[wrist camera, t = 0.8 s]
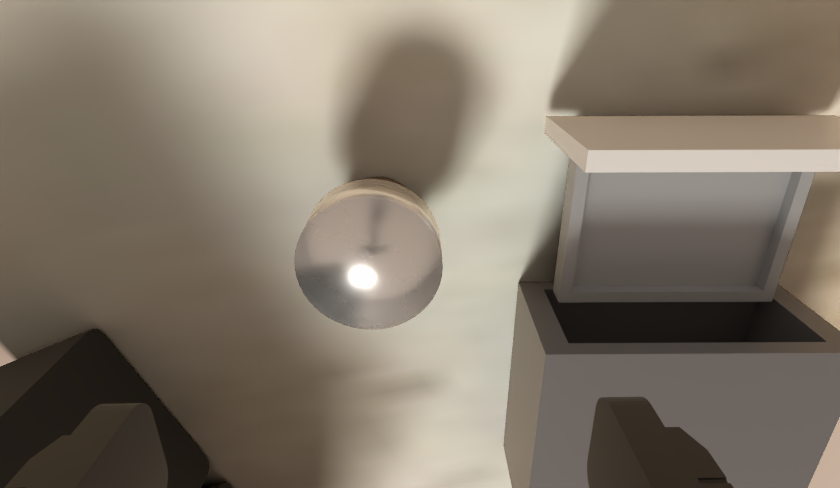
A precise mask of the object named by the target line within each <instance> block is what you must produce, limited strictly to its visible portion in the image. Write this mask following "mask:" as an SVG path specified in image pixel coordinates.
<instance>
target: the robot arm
mask: <svg viewBox="0 0 840 488" xmlns="http://www.w3.org/2000/svg"><path fill="white" fill-rule="evenodd" d="M587 476H588V484H589V488H733V486H732V485H731V483H728V482H727V479H726V478H727V477H726V476H725V475H724V473H723V472H722V470H721V469H720V467H719V466H718V464H717V463H716V462H715V460H714V459H713V457H712V456H711V454H710V453H709V451H708V450H707V449H706V448H705V447H703V446H702V445H701V444H700V443H698V442H697V441H696V440H695V439H694V438H692V437H691V436H690V435H689V434H687V433H686V432H685V431H684V430H683V429H681V428H680V427H665V426H664V424H663V423H662V421H661V420H660V418H659V416H658V415H657V413H656V412H655V410H654V409H653V407H652V405H651V404H650V402H649V401H648V400H647V399H646V398H644V397H601V398H599V399H598V401H597V404H596V409H595V415H594V421H593V428H592V434H591V440H590V447H589V453H588V460H587ZM167 483H168V467H167V463H166V459H165V456H164V452H163V449H162V445H161V441H160V438H159V434H158V431H157V427H156V423H155V420H154V416H153V413H152V410H151V408H150V407H149V406H148V405H147V404H145V403H126V404H100V405H97V406H96V407H94V408H93V409H92V410H91V411H90V412H89V414H88V415H87V416H86V417H85V418H84V419H83V421H82V422H81V423H80V424H79V425H78V427H77V428H76V429H75V430H74V431H73V433H72V434H71V435H63V436H61V437H60V438H58V439H57V440H56V441H54V442H53V443H51V444H50V445H49V446H47V447H46V448H44V449H43V450H42V451H40V452H39V453H38V454H36V455H35V456H33V457H32V458H31V459H29V460H28V462H27V463H26V464H25V465H24V466H23V467H22V468H21V469H20V471H19V472H18V473H17V474H16V475H15V476H14V477H13V478H12V480H11V481H10V482H9V483H8V484H7V485H6V486H5V487H4V488H167Z"/></svg>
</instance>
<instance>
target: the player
mask: <svg viewBox="0 0 840 488" xmlns="http://www.w3.org/2000/svg"><path fill="white" fill-rule="evenodd" d="M553 286H554V282H519V283H518V294H517V305H516V316H515V326H514V337H513V348H512V359H511V370H510V381H509V392H508V403H507V414H506V425H505V436H504V450H505V454H506V459H507V464H508V469H509V474H510V479H511V484H512V488H589V484H588V476H587V460H588V453H589V447H590V440H591V434H592V428H593V421H594V415H595V409H596V404H597V401H598V399H599V398H601V397H644V398H646V399H647V400H648V401H649V402H650V404H651V405H652V407H653V409H654V410H655V412H656V413H657V415H658V416H659V418H660V420H661V421H662V423H663V424H664V426H665V427H680V428H681V429H683V430H684V431H685V432H686V433H687V434H689V435H690V436H691V437H692V438H694V439H695V440H696V441H697V442H698V443H700V444H701V445H702V446H703V447H705V448H706V449H707V450H708V451H709V453H710V454H711V456H712V457H713V459H714V460H715V462H716V463H717V464H718V466H719V467H720V469H721V470H722V472H723V473H724V475H725V476H726V477H727V478H726V479H727V482H728V483H731V485H732V486H733V488H808V486H809V483H810V481H811V479H812V477H813V475H814V472H815V470H816V468H817V465H818V463H819V461H820V459H821V456H822V455H823V452H824V450H825V448H826V446H827V443H828V441H829V439H830V437H831V434H832V432H833V430H834V428H835V426H836V424H837V421H838V419H839V417H840V331H839V330H838V329H836V328H835V327H834V326H832V325H831V324H830V323H828V322H827V321H826V320H824V319H823V318H822V317H821V316H819V315H818V314H817V313H815V312H814V311H813V310H811V309H810V308H809V307H807V306H806V305H805V304H803V303H802V302H801V301H799V300H798V299H797V298H795V297H794V296H793V295H792V294H790V293H789V292H788V291H786V290H785V289H784V288H782V287H781V286H780V285H777V288H776V291H775V294H774V297H773V300H772V302H581V303H559V302H558V300H557V298H556V296H555V294H554V292H553Z"/></svg>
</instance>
